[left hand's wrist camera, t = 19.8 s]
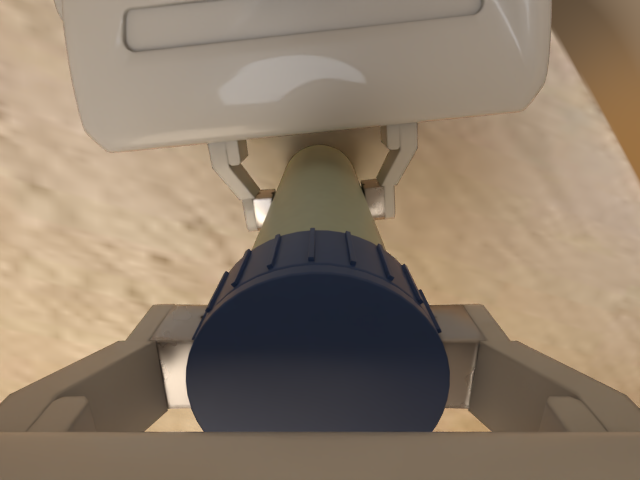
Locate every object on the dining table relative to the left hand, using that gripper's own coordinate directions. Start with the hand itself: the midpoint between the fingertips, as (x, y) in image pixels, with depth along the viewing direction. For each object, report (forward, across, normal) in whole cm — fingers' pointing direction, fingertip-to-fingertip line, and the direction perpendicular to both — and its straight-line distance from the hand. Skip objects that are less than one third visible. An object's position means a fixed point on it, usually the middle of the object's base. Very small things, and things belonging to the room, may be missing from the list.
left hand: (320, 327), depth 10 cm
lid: (-2, 0, 0) cm, 2 cm away
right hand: (+11, 0, -1) cm, 11 cm away
